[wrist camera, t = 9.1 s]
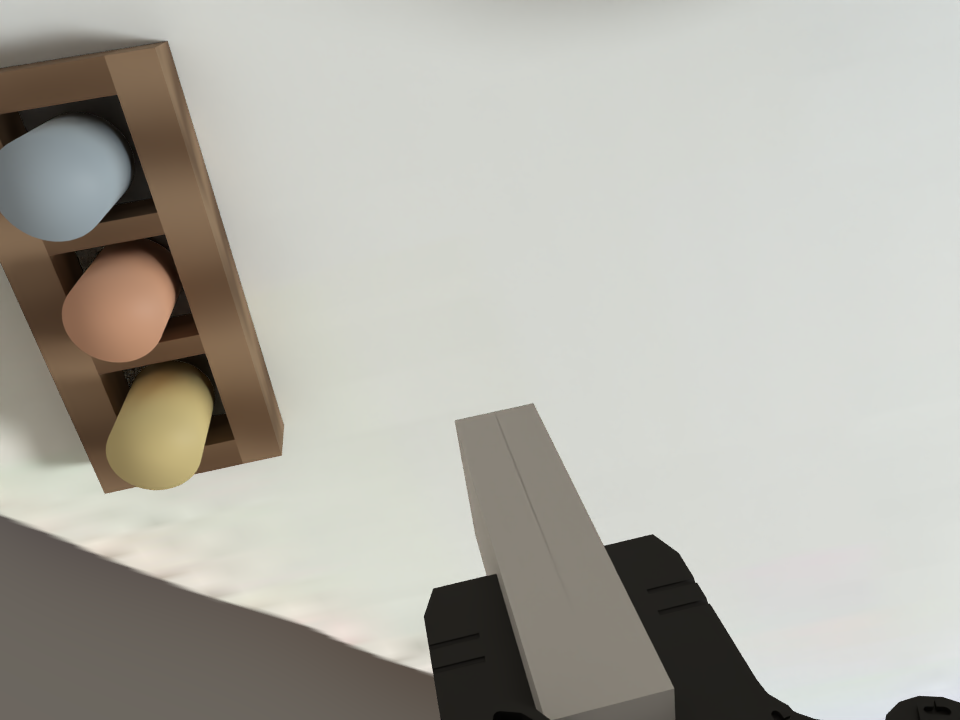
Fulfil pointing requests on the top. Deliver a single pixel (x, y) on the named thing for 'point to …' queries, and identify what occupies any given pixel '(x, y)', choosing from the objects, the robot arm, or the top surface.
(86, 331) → the button terracotta
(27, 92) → the button board
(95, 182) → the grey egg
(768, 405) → the top surface
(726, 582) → the top surface
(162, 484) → the button ochre
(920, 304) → the top surface
